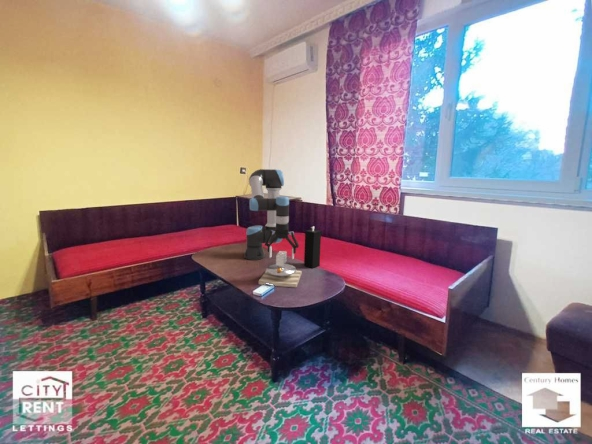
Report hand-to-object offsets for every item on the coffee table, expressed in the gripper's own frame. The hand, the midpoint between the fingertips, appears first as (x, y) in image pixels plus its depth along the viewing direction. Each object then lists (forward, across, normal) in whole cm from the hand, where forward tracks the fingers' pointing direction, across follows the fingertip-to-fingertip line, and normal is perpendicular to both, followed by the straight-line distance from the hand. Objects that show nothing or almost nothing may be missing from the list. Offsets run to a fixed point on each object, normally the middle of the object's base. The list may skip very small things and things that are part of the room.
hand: (281, 258), depth 174 cm
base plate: (+13, 0, 0) cm, 13 cm away
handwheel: (+8, 0, 0) cm, 8 cm away
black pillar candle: (+13, +16, +28) cm, 35 cm away
